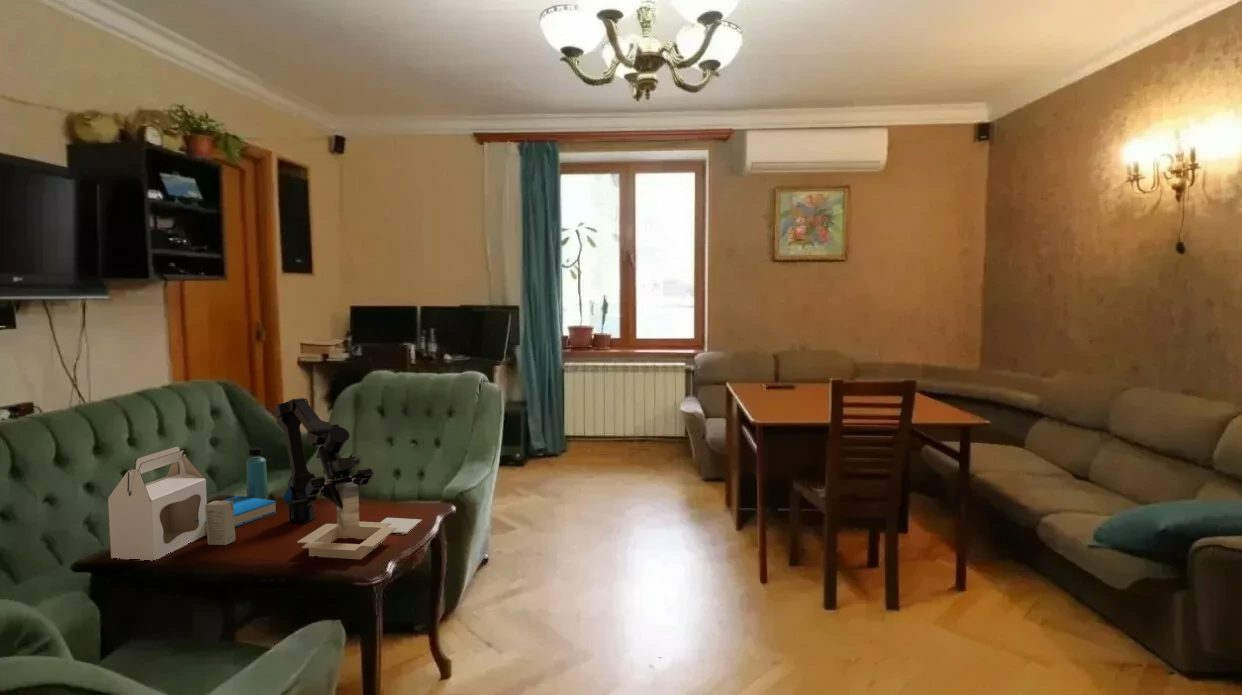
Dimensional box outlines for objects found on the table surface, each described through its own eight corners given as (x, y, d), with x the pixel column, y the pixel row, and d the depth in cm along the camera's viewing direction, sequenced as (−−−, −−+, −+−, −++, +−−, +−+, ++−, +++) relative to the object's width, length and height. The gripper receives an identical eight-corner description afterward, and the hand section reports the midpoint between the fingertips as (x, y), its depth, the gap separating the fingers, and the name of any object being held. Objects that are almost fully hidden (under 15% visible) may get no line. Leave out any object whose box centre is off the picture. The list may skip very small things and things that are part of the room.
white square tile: (369, 532, 221) (369, 529, 221) (386, 519, 233) (386, 517, 233) (406, 534, 219) (406, 532, 219) (421, 521, 231) (421, 519, 231)
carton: (290, 560, 198) (289, 546, 198) (332, 532, 220) (332, 519, 220) (366, 565, 195) (366, 551, 195) (401, 536, 218) (401, 523, 217)
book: (276, 500, 238) (212, 521, 215) (276, 513, 239) (212, 535, 215) (237, 495, 244) (170, 514, 220) (237, 507, 244) (170, 528, 221)
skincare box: (236, 540, 212) (234, 500, 211) (226, 545, 208) (225, 505, 207) (215, 539, 213) (214, 499, 212) (206, 544, 209) (204, 504, 208)
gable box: (153, 562, 196) (148, 462, 193) (109, 559, 197) (104, 460, 195) (208, 534, 218) (205, 444, 215) (169, 531, 219) (165, 442, 217)
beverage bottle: (270, 504, 247) (269, 448, 245) (250, 508, 242) (248, 451, 240) (264, 500, 251) (262, 445, 249) (244, 504, 247) (242, 447, 245)
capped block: (337, 526, 207) (336, 485, 206) (352, 523, 210) (351, 482, 209) (344, 530, 204) (343, 488, 203) (359, 527, 207) (358, 485, 206)
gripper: (308, 451, 201) (326, 497, 195) (370, 441, 215) (389, 484, 208) (297, 473, 207) (314, 518, 201) (358, 462, 221) (376, 504, 214)
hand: (350, 506), depth 206 cm, fingers closed on capped block, 4 cm apart
